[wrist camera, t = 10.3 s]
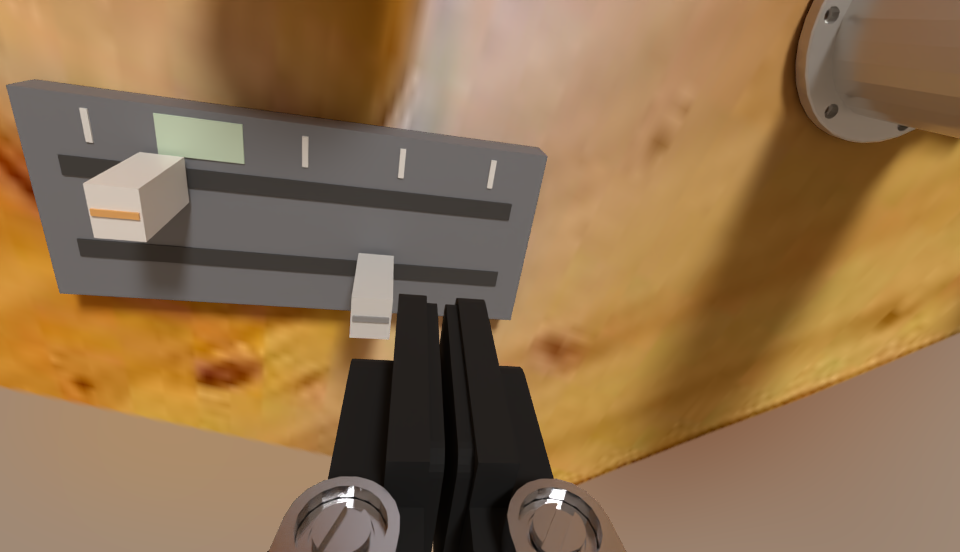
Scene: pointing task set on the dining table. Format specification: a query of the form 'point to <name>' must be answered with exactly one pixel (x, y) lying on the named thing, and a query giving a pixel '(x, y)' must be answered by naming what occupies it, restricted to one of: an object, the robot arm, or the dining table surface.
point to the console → (278, 202)
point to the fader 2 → (372, 297)
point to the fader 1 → (136, 196)
